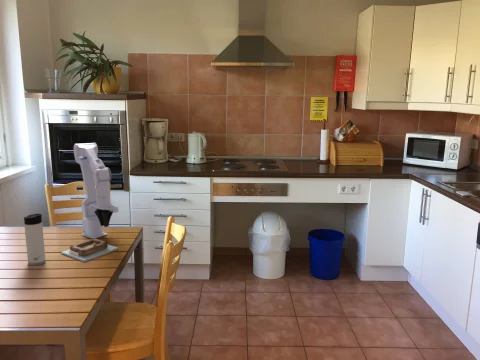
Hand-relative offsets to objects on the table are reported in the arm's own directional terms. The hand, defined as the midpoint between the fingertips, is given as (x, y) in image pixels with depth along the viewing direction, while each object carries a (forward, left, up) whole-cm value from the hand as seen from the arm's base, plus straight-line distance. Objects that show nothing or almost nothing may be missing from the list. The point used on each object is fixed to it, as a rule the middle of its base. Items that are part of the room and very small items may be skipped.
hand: (104, 225), depth 183 cm
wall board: (0, -9, -9) cm, 12 cm away
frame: (0, -9, -8) cm, 12 cm away
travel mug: (-7, -28, -9) cm, 30 cm away
